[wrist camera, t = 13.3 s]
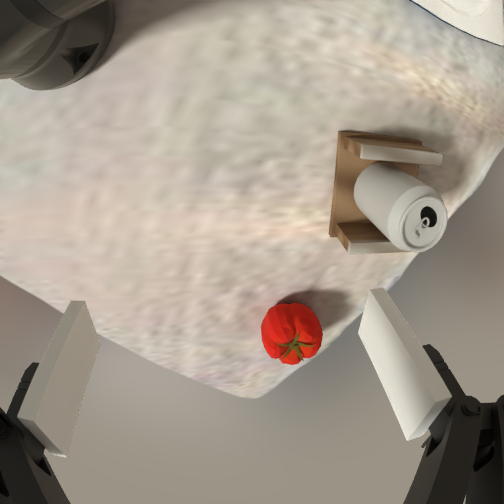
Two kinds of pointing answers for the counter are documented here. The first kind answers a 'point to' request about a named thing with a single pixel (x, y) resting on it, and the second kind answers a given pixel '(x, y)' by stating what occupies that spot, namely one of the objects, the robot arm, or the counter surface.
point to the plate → (470, 16)
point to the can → (401, 206)
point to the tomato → (291, 332)
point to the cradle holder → (348, 170)
